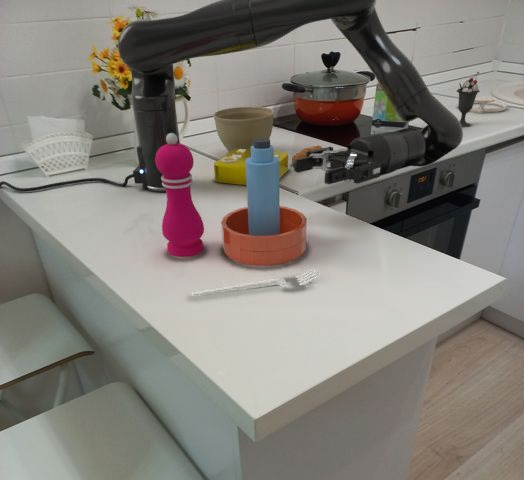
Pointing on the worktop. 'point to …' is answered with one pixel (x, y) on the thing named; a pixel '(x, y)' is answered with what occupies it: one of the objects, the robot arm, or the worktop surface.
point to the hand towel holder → (487, 101)
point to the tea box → (385, 114)
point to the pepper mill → (179, 200)
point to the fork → (261, 284)
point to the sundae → (467, 98)
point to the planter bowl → (243, 126)
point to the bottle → (263, 189)
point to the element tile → (242, 166)
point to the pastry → (304, 153)
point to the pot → (264, 239)
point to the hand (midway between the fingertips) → (310, 172)
